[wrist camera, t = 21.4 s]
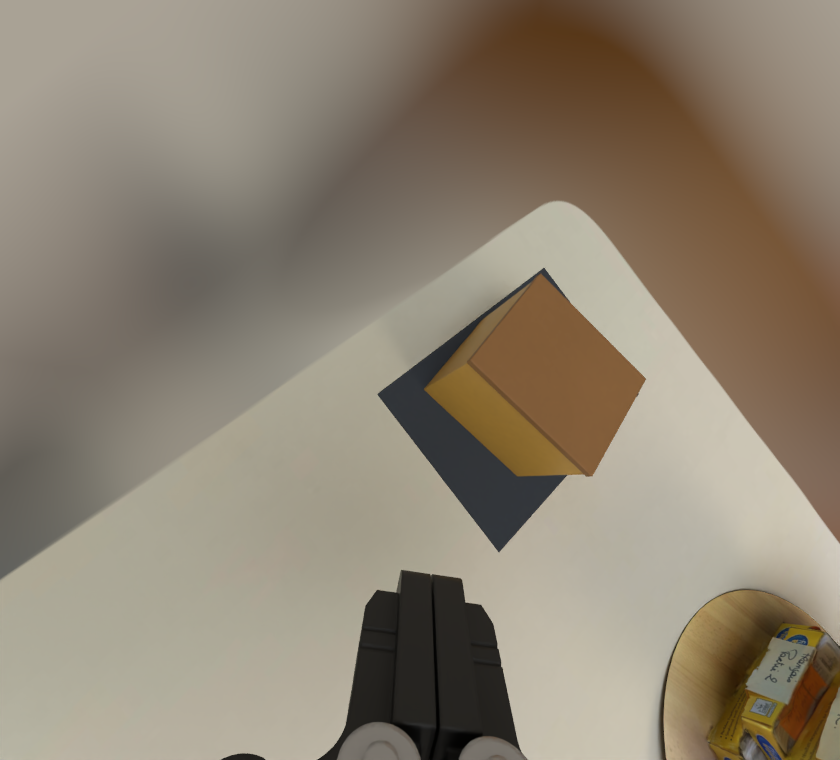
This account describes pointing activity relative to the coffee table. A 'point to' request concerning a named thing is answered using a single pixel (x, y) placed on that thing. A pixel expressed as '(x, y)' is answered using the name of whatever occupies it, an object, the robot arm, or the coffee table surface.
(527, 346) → the toy box
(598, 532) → the coffee table surface
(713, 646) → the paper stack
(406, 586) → the robot arm
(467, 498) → the mat
